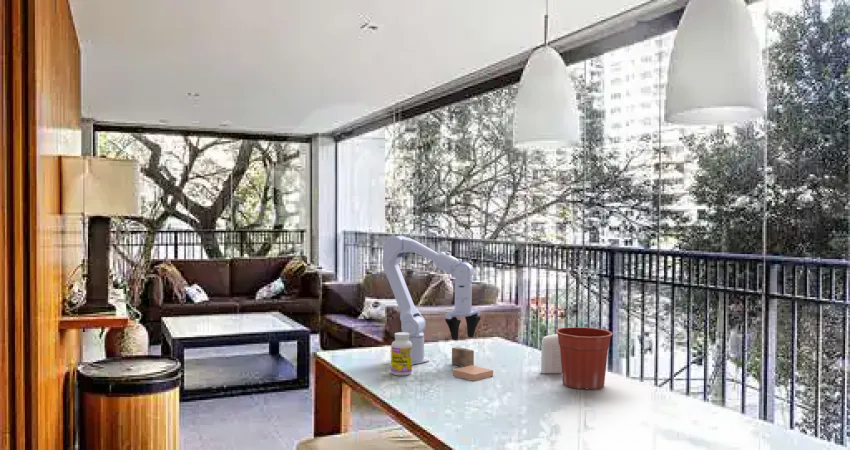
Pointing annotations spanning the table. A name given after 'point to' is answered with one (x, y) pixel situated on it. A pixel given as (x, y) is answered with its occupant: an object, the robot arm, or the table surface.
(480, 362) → the table surface
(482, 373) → the glazed tile
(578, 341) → the flower pot
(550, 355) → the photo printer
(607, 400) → the table surface
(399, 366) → the supplement bottle
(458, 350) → the bar
